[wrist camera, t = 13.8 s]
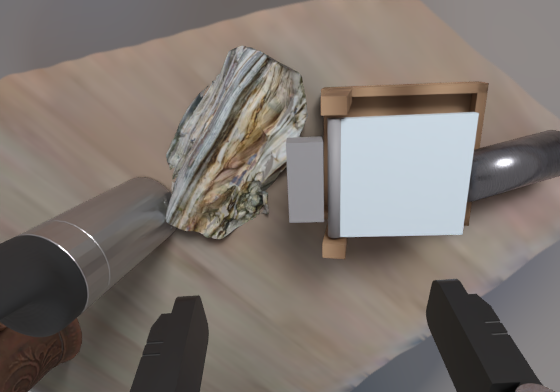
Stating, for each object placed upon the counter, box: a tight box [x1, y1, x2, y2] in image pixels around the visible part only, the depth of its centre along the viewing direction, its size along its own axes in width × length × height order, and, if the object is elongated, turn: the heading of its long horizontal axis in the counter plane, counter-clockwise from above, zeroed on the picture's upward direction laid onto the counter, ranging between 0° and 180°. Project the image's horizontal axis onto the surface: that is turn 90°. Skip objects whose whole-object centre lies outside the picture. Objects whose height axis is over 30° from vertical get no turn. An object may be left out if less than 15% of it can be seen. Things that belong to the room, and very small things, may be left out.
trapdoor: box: [286, 112, 479, 238], centre depth 31 cm, size 15×10×2 cm
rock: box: [166, 46, 308, 239], centre depth 41 cm, size 23×7×15 cm
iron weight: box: [467, 130, 560, 202], centre depth 33 cm, size 4×4×10 cm
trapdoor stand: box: [321, 82, 489, 259], centre depth 34 cm, size 15×14×12 cm
